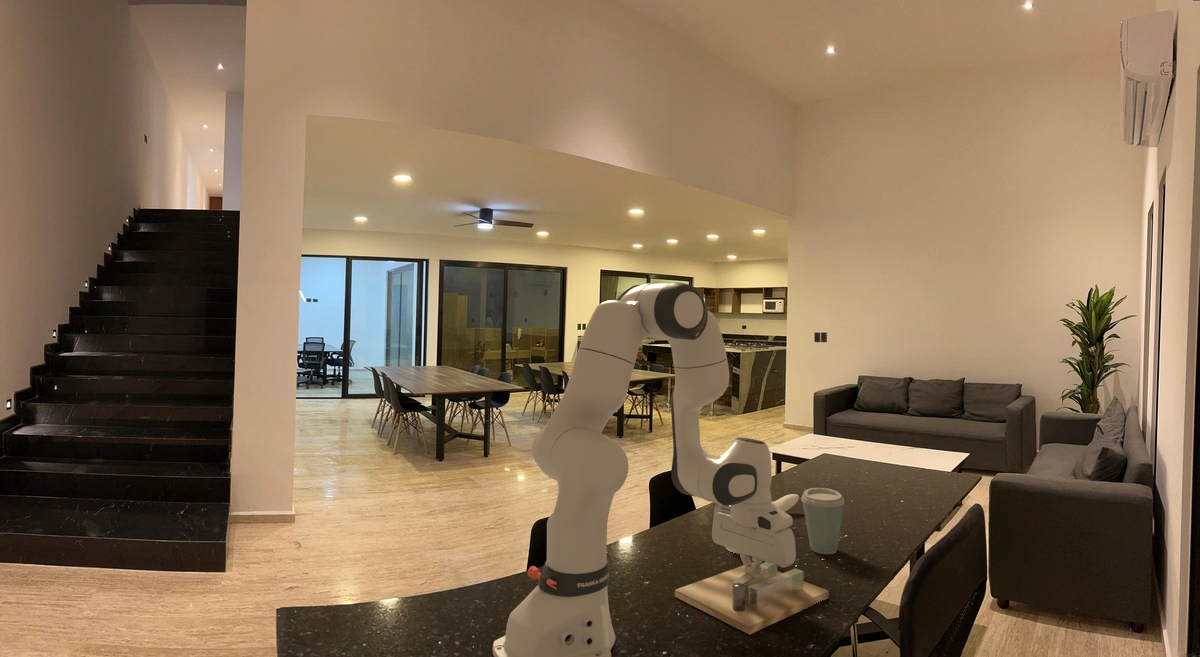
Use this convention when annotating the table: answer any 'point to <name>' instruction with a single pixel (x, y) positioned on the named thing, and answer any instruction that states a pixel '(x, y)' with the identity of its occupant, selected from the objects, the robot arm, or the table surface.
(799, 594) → the cutting board
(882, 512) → the table surface
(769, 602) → the bar
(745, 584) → the bar
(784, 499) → the banana
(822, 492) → the disposable coffee cup
